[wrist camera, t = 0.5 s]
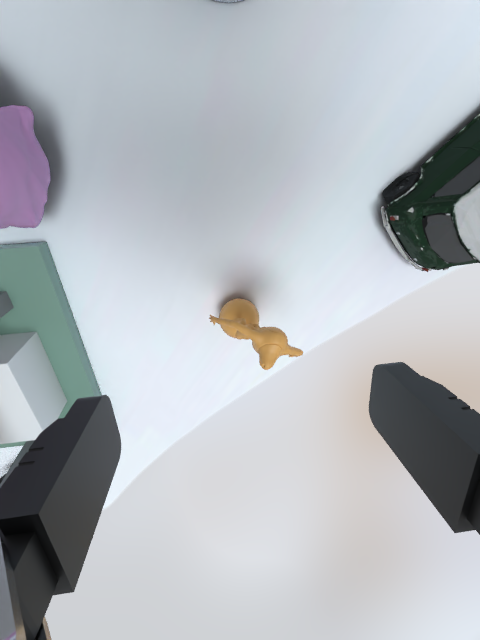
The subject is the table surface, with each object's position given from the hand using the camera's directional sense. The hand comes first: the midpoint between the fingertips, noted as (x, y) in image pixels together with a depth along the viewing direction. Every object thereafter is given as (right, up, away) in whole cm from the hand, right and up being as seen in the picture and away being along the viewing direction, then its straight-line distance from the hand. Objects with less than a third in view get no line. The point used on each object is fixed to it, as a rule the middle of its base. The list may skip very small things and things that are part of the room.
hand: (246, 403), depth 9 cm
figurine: (0, +5, +22) cm, 23 cm away
